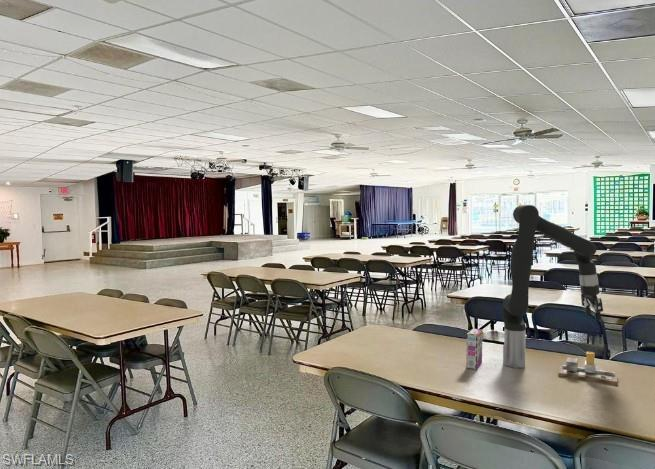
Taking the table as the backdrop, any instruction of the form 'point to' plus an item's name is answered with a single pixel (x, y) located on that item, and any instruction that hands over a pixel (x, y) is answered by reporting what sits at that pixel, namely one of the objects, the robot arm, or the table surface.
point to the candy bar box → (474, 349)
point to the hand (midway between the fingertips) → (593, 317)
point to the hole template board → (586, 373)
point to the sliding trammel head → (590, 362)
